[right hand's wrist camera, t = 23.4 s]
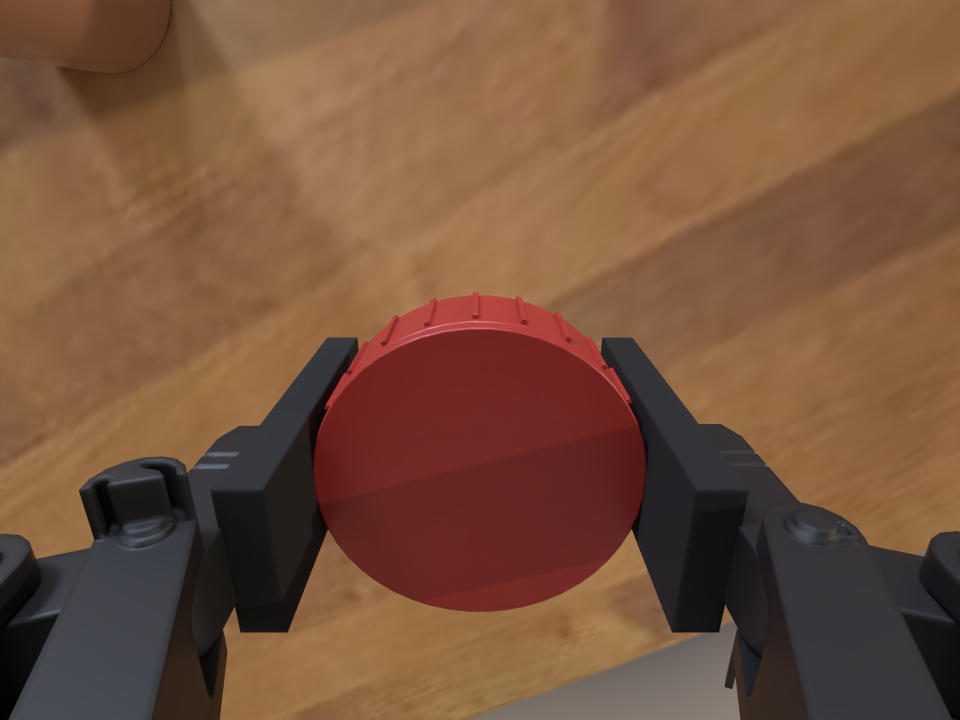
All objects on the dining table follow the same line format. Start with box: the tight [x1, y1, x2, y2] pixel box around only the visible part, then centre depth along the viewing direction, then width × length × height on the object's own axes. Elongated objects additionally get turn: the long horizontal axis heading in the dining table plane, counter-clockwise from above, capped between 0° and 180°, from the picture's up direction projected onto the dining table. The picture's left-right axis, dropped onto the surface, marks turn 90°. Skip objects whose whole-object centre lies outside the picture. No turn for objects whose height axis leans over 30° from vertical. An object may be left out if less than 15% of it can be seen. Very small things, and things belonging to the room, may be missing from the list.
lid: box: [313, 292, 646, 612], centre depth 11 cm, size 6×6×2 cm
